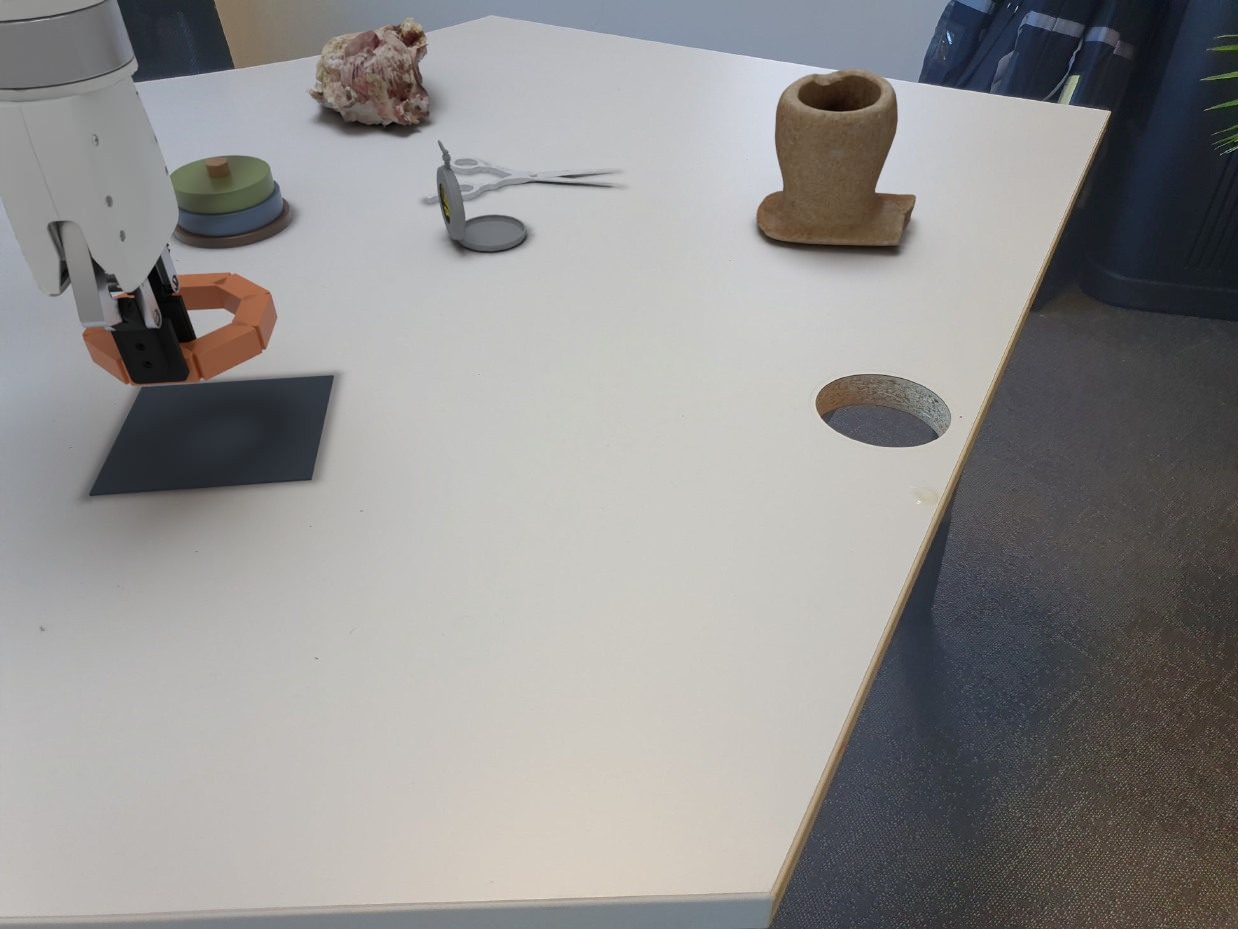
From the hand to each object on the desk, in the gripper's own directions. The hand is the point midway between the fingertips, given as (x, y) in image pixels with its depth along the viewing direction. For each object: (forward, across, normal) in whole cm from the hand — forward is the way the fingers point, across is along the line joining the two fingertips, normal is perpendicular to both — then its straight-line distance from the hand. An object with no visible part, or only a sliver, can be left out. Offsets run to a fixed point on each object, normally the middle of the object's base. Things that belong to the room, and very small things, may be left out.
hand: (167, 366), depth 54 cm
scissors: (+9, -46, +23) cm, 52 cm away
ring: (+1, -4, 0) cm, 4 cm away
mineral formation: (+9, -70, +5) cm, 71 cm away
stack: (+9, -38, -6) cm, 40 cm away
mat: (+9, -4, 0) cm, 10 cm away
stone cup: (+9, -30, +52) cm, 60 cm away
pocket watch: (+9, -32, +18) cm, 38 cm away
